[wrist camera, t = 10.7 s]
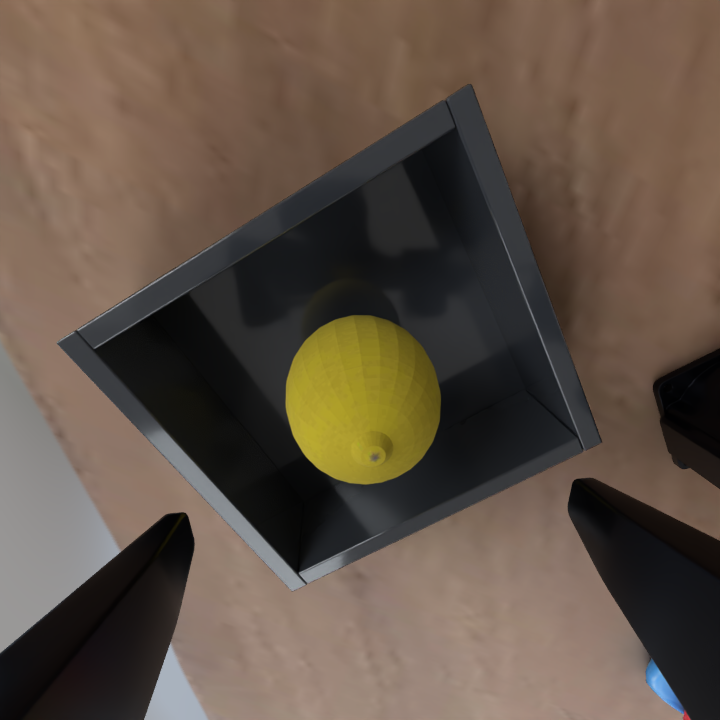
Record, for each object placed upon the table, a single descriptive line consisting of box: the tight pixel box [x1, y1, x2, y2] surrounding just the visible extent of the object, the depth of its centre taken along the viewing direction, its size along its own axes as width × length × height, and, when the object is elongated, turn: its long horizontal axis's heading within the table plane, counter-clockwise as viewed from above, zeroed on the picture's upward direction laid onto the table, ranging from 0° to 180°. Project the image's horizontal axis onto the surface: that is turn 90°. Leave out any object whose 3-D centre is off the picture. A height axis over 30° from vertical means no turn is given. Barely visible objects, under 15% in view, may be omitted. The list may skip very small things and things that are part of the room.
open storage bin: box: [57, 84, 602, 591], centre depth 16 cm, size 15×14×5 cm
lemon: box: [286, 315, 441, 484], centre depth 14 cm, size 6×6×8 cm
